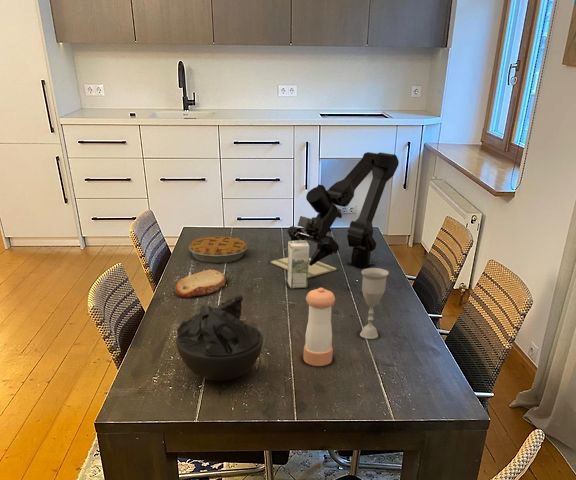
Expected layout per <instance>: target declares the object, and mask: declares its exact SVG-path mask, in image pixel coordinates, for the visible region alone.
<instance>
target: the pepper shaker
mask: <svg viewBox="0 0 576 480" xmlns="http://www.w3.org/2000/svg"><path fill="white" fill-rule="evenodd" d="M305 301H306V304H307V305H308V318H307V319H308V320H307V326H306V330H305V341H304V342H305V343H304V346H303V356H302V357H303V358H302V359H303V361H304V362H305V363H306V365H307V364H308V365H310V366H314V367H323V366H327V365H329V364H331V363H332V362H333V352H334V351H333V350H334V348H333V346H332V344H333V343H332V342H333V328H332V309H333V308H332V306H334V305H335V302H336V297H335V294H334V293H333V291H330V290H328V289H325V288H324V287H318V288H316V289H313V290H310V291H309V292H308V293H307V295H306V297H305Z"/></svg>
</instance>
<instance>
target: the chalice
mask: <svg viewBox="0 0 576 480" xmlns="http://www.w3.org/2000/svg"><path fill="white" fill-rule="evenodd" d="M360 272H361V275H362V283H361V291H362V296H363V299H364V301H365V303H366V305H367V306H368V307H369V310H368V317H367V319H366V320H367V322H368V323H367V324H366V325H364V326H363V327H362V329H361V332H360V333H359V336H360V337H361V338H364V339H367V340H373V339H377V338H378V337H379V333H378V331H377V328H376V326H374V325H373V321H374V320H375V318H374V317H373V316H374V314H375V311H374V307H376V306H378V304H379V303H380V301H381V299H383V296H384V294H385V291H386V286H387V284H386V283H387V277H388V275H390V272H389V270H387V269H385V268H379V267H370V268H369V267H368V268H364V269H362V270H361V271H360Z"/></svg>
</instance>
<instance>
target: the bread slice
mask: <svg viewBox="0 0 576 480" xmlns="http://www.w3.org/2000/svg"><path fill="white" fill-rule="evenodd" d="M226 282H227V280H226V276H225V274H224V273H223V272H221V271H219V270H216V269H208V270H202V271H199V272H196V273H194V274H191V275H188V276H185V277H182V278H180V279H179V280H178V281H177V283H176V285H175V287H174V291H175V293H176V294H177V296H178V297H180V298H186V299H191V298H194V297H202V296H207V295H210V294H213V293H215V292H217V291H219V290H220V289H221V288H223V287H224V286H225V284H226Z"/></svg>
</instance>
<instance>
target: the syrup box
mask: <svg viewBox="0 0 576 480" xmlns="http://www.w3.org/2000/svg"><path fill="white" fill-rule="evenodd" d="M287 244H288V245H287V248H288V249H287V257H288V270H287V278H286V279H287V284H288V287H290V289H307V288H308V283H309V278H308V265H309V258H310V245H309V243H308V241H307V240H301V241H291V240H288V243H287Z"/></svg>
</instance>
